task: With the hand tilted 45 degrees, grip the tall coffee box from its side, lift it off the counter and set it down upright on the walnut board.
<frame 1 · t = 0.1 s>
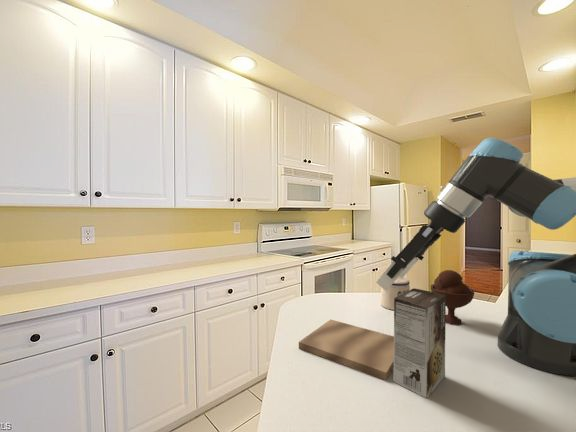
hand: (390, 280, 66), 15 cm above the counter, tool tilted 35°, fingers open, 13 cm apart
coffee box: (419, 380, 52), on the counter
ice cream bowl: (451, 321, 79), on the counter
walnut board: (353, 347, 64), on the counter
teacup with lid: (397, 306, 92), on the counter
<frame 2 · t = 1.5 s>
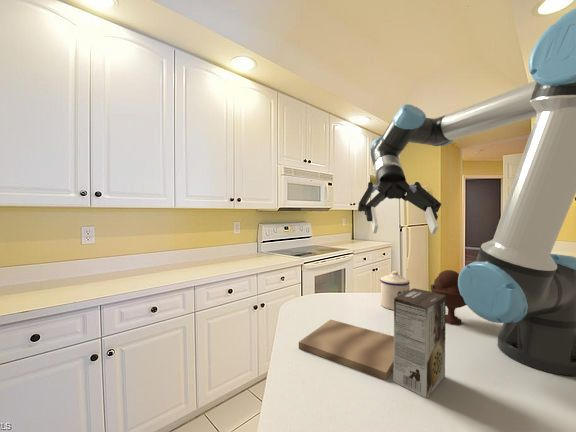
hand: (404, 230, 65), 27 cm above the counter, tool tilted 45°, fingers open, 13 cm apart
nothing on the counter moved.
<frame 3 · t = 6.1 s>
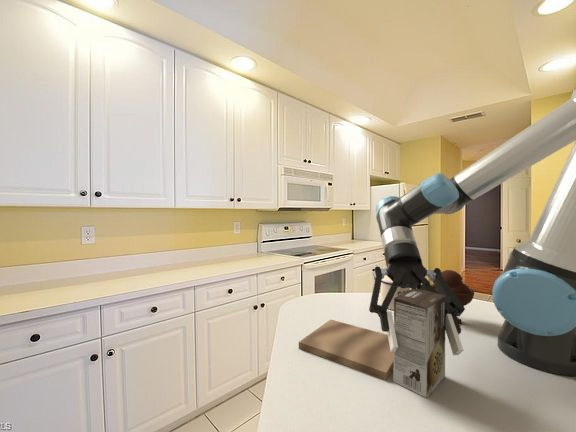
hand: (425, 351, 49), 7 cm above the counter, tool tilted 45°, fingers closed on coffee box, 10 cm apart
coffee box: (419, 380, 52), on the counter, touching gripper
everything else where it was.
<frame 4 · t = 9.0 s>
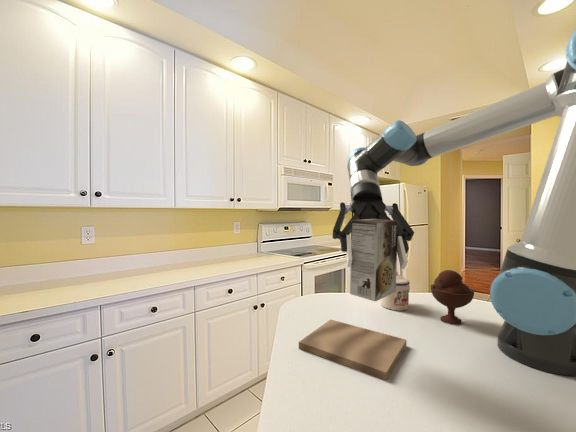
hand: (376, 264, 56), 21 cm above the counter, tool tilted 45°, fingers closed on coffee box, 10 cm apart
coffee box: (372, 294, 60), point 14 cm above the counter, touching gripper
everything else where it was.
when the fingers open (9 cm above the counter, at t = 12.0 s): coffee box stays where it is, resting on walnut board.
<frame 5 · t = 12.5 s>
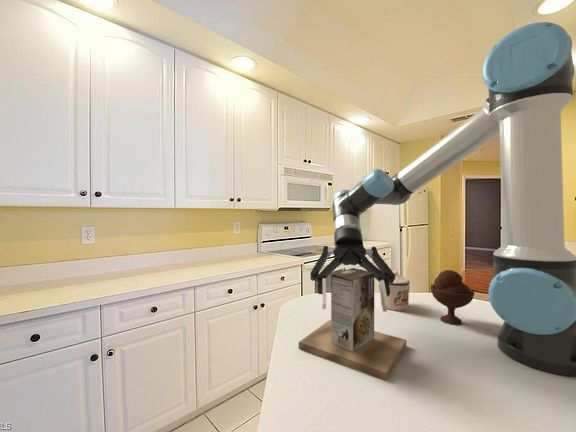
hand: (354, 307, 61), 10 cm above the counter, tool tilted 45°, fingers open, 13 cm apart
coffee box: (352, 341, 64), point 1 cm above the counter, touching walnut board
everything else where it was.
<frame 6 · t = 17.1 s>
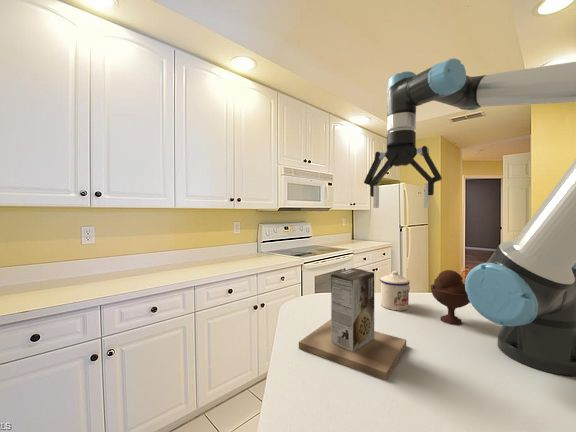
hand: (400, 208, 77), 33 cm above the counter, tool pointing down, fingers open, 13 cm apart
nothing on the counter moved.
at the end: coffee box inside the target area on the walnut board (0.1 cm from its centre), point 1.3 cm above the walnut board's base; coffee box tilted 0°; the gripper is holding nothing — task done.
